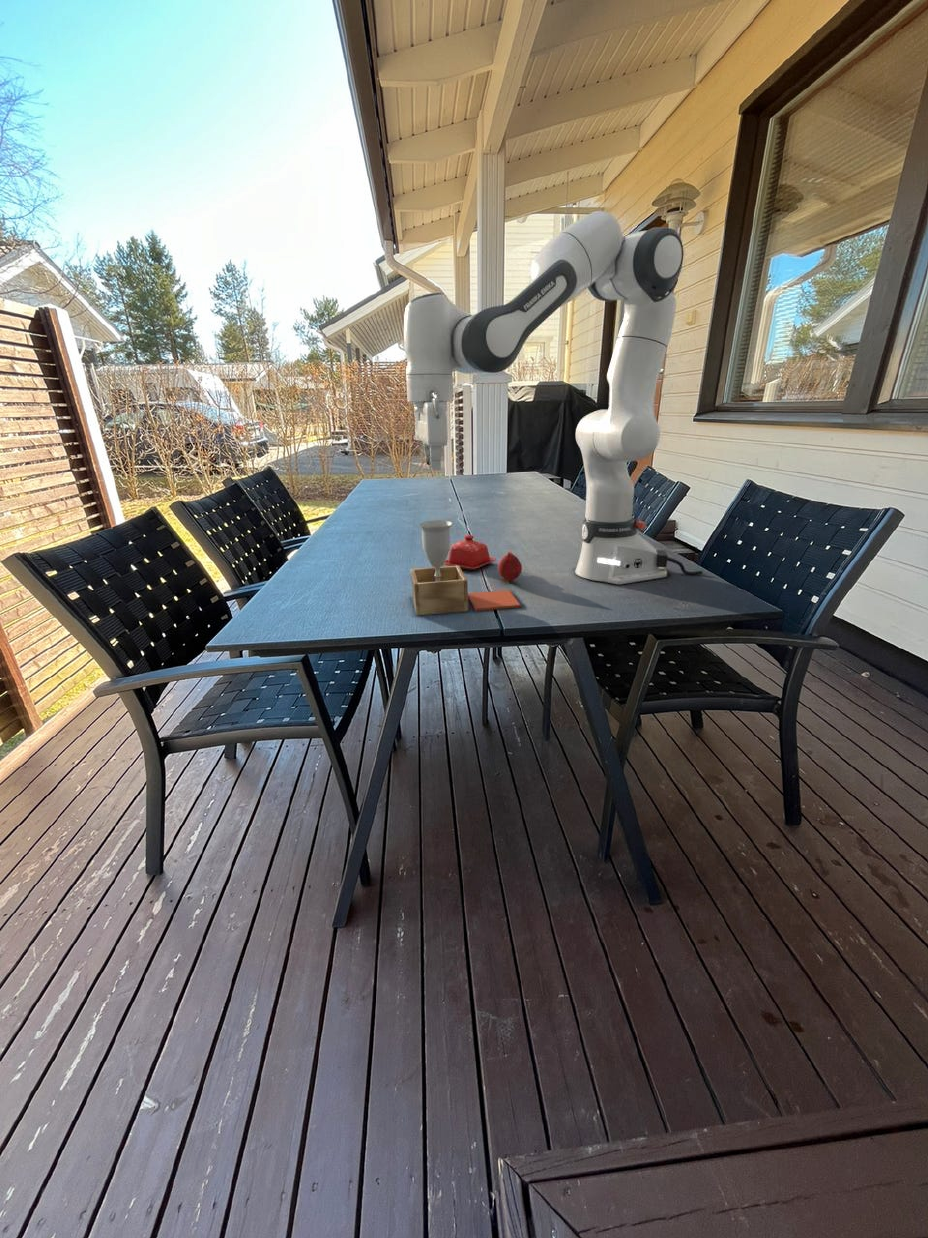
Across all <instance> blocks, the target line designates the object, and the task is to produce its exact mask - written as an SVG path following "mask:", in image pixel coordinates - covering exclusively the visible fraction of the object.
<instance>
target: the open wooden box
mask: <svg viewBox="0 0 928 1238" xmlns="http://www.w3.org/2000/svg"><path fill="white" fill-rule="evenodd" d="M435 572H436V569H435V567H433V566H431V567H419V568H418V567H417V568H410V583H411V584H410V586H411V596H412V597H411V598H412V603H413V608H414V610H415V615H416V616H428V615H439V614H451V613H460V612H461V613H463V612H468V611H469V598H468V593H469V589H468V588H469V587H468V584H469V583H468V578H467V577H466V575H465V574H464V572H463V569H462V568H460V567H459V565H458V566H450V565H445V566H441V567H440V574H441V577H440V581H436V577H435V576H434V575H435Z"/></svg>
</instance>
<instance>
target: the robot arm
mask: <svg viewBox="0 0 928 1238" xmlns="http://www.w3.org/2000/svg"><path fill="white" fill-rule="evenodd" d="M684 254H685V251H684V245H683V240H682V239H681V236H680V234H679V233H678V232H677V231H676V230H675V229H673V228H670V227H668V226H667V227H666V226H656V227H655V226H654V227H652V228H651V227H650V228H649V229H648V230H641V231H637V232H633V233H630V234H627V235H625V236H624V235H623V232H622V228H621V226H620V224H619V222H618V220H617V218H616V217H615V216H614V215H613V214H612V213H610V212H609V211H605V210H595V211H593V212H590V213H588V214H587V215H584V216H582V217H581V218H579V219H577V220H575V221H574V222H572V223H571V224H569V225H568V226H567V227H565V228H563V230H561V231H560V232H558V233H557V234H556V235H555V236H554V237H553V238H551V239H550V240H549V241H548V242H547V243H546V244H545V245H544V246H543V247H542V248H541V249H540V251H538V253H537V254H535V255H536V256H535V257H534V258H533V260H532V261H531V265H530V281H531V282H530V283H529V284H528V285H527V286H525V287H524V288H523V289H522V290H521V291H520V292H519V293H518V294H516V296H514V297H513V298H512V299H511V300H510V301H508V302H507V303H505V304H501V305H496V306H495V305H494V306H489V307H487V308H484V309H482V310H480V311H479V312H477V313H474V314H471V313H469V312H467V311H465V310H463V309H462V308H461V307H458V306H457V304H455V303H453V302H452V301H451V300H450V299H449V297H448V296H447V295H446V294H445V293H442V292H432V293H425V294H422V295H419V296H417V297H414V298H413V299H412V300H410V301H409V302H408V303H407V304H406V307H405V309H404V320H403V341H404V346H403V347H404V352H405V355H406V361H407V362H406V363H407V365H406V371H405V380H406V399H407V400H406V401H407V403H411V404H413V412H414V420H415V427H416V433H417V437H418V440H419V441H421V442H423V452H424V459H425V460H424V461H425V465H427V466H430V469H431V470H432V471H440V470H441V469H442V464H441V463H442V462H441V460H442V455H443V454H442V452H443V449H442V448H443V447H445V446H447V445H448V441H449V436H448V435H449V434H448V419H447V418H448V416H447V411H448V407H447V406H448V402H454V371H455V372H458V373H462V374H465V375H466V374H467V375H468V374H481V373H490V374H492V373H493V374H495V373H501V372H503V371H506V369H509V367H511V366H512V364H514V362H515V361H516V359H517V358H518V357H519V354H520V352H521V350H522V349H523V346H524V345H525V343H526V341H527V339H528V338H529V337H530V335H532V334H533V332H534V331H535V330H536V329H537V328H538V327H539V326H541V325H542V324H543V323H544V322H545V321H547V319H548V318H549V317H551V315H553V314H554V313H555V312H556V311H558V309H559V308H561V307H563V306H565V305H566V304H568V303H570V302H571V301H573V300H574V299H576V298H577V297H579V296H580V295H581V294H582V293H584V292H585V291H586V290H587V289H588V291H589V292H590V294H591V295H592V297H594V298H595V299H597V300H599V301H602V302H614V301H615V302H616V301H623V307H624V313H623V314H624V315H623V319H622V322H621V325H620V328H619V330H618V334H617V337H616V342H615V345H614V348H613V352H612V356H611V359H610V362H609V365H608V369H607V372H606V380H607V383H608V385H609V404H608V408H607V409H598V410H595V411H593V412H590V413H588V414H586V415H585V416H583V417H582V418H581V419H580V420H579V422H578V424H577V426H576V428H575V441H576V444H577V446H578V448H579V449H580V453H581V457H582V462H583V468H584V475H585V483H586V494H585V495H586V496H585V511H584V512H585V513H584V517H583V518H582V519H583V520H582V527H581V541H582V543H581V549H580V553H579V557H578V562H577V565H576V567H575V570H574V573H575V574H576V575H577V576H579V577H580V578H583V579H586V580H591V581H594V582H595V581H597V582H603V583H608V584H612V585H613V584H614V585H626V584H632V583H638V582H644V581H649V580H655V579H662V578H666V577H667V576H668V571H667V569H666V568H667V566H668V562H671V563H673V564H676V565H678V566H679V568H680V570H681V572H682V573H683V574H685V575H687V576H697V575H703V570H695V571H688V570H687V569H686V568H685V565H684V564H683V563H682V562H681V561H679V560H678V559H675V558H671V557H669V556H668V553H667V551H666V550H664V549H661V550H660V549H656V548H655V547H654V546H653V545H652V544H651V543H649V541H647V540H646V539H645V538H644V537H642V536H641V535H640V534H639V533H638V530H640V531H644V530H645V529H646V527H647V523H646V522H644V521H642V520H636V519H635V518H632V517H633V508H634V507H633V506H634V495H635V485H634V482H633V480H632V478H631V476H630V474H629V469H628V465H627V463H631V462H636V461H637V462H638V461H641V460H643V459H646V458H648V457H649V456H651V454H653V452H654V451H655V450H656V449H657V447H658V445H659V442H660V438H661V430H660V425H659V422H658V420H657V419H656V414H655V404H656V403H655V400H656V391H657V384H658V381H659V377H660V374H661V370H662V367H663V363H664V360H665V357H666V354H667V350H668V347H669V343H670V339H671V336H672V332H673V327H674V322H675V316H676V308H677V300H676V299H677V298H676V297H675V295H674V293H673V292H674V289H676V286H677V284H678V282H679V277H680V274H681V271H682V268H683V262H684V256H685V255H684Z"/></svg>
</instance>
